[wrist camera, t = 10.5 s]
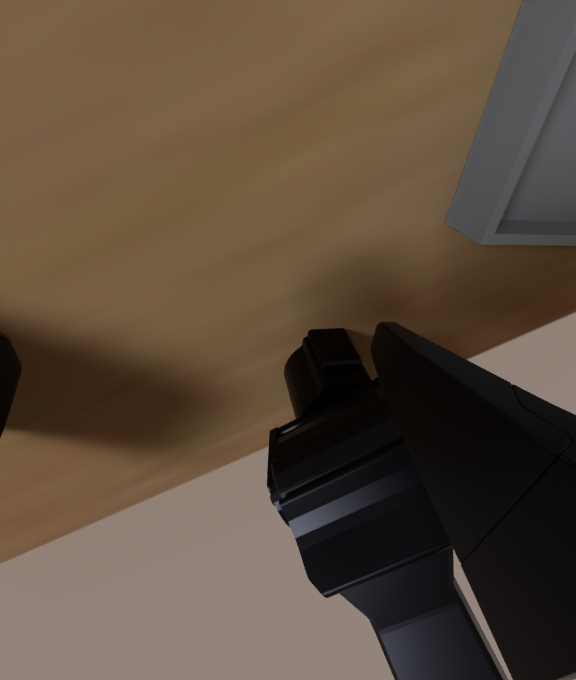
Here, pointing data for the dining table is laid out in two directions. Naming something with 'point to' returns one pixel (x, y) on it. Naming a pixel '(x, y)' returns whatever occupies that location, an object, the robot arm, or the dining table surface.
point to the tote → (526, 138)
